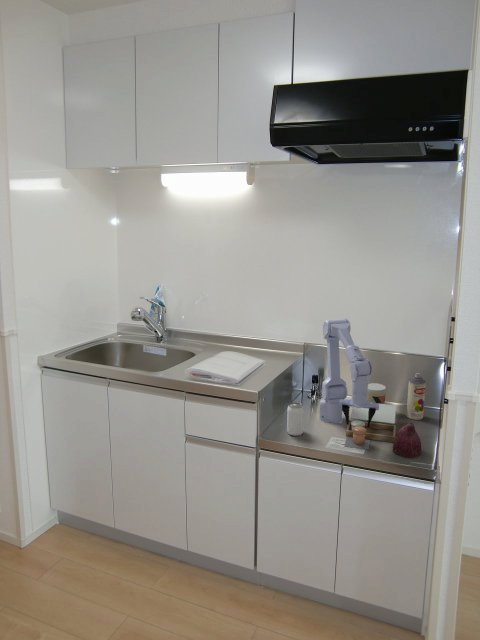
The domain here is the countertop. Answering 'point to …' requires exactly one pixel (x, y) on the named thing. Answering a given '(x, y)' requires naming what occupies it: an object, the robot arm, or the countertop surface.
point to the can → (295, 419)
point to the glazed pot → (357, 424)
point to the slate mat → (350, 444)
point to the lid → (376, 414)
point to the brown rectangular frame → (376, 431)
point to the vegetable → (407, 442)
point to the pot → (359, 435)
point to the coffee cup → (376, 393)
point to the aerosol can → (416, 397)
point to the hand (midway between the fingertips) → (358, 424)
